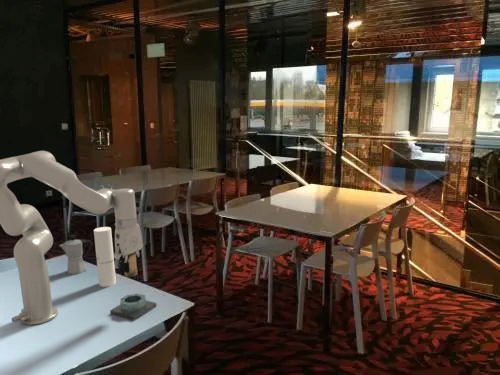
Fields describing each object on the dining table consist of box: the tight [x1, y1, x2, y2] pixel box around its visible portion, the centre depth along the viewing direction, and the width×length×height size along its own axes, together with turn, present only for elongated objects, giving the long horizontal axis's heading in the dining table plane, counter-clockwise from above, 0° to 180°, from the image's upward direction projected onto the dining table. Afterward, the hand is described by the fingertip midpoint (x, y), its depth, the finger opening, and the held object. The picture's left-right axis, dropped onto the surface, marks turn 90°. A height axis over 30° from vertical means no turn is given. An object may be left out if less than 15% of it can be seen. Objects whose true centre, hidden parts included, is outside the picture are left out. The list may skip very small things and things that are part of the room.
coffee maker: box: [58, 234, 94, 276], centre depth 205 cm, size 15×9×18 cm, turn 114°
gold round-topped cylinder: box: [123, 252, 138, 278], centre depth 160 cm, size 5×5×8 cm
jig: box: [110, 293, 157, 321], centre depth 163 cm, size 12×12×4 cm
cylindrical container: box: [93, 226, 117, 288], centre depth 187 cm, size 7×7×25 cm
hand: (130, 268), depth 160 cm, fingers closed on gold round-topped cylinder, 4 cm apart
